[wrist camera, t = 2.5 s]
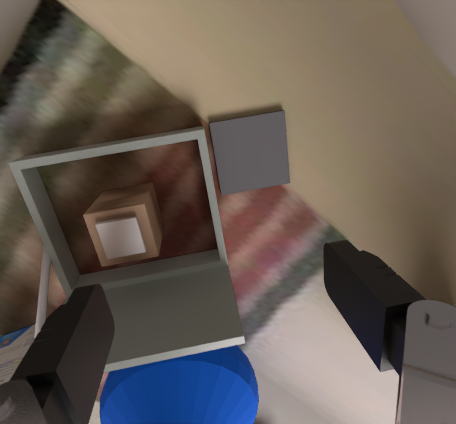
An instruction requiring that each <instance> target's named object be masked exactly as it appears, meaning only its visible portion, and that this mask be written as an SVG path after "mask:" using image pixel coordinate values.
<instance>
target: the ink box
mask: <svg viewBox="0 0 456 424" xmlns="http://www.w3.org/2000/svg"><path fill="white" fill-rule="evenodd" d="M35 326H36V324H34V325H32V326H29V327H26V328H23V329H20V330H17V331H15V332H12V333H9V334H6V335H3V336H1V338H0V385H1V384H3V383H5V382H8V381H9V380H10V379H11V377H12V375H13V374H14V372H15V370H16V369H17V367H18V365H19V364H20V362H21V361H22V359H23V357H24V356H25V354H26V352H27V351H28V349H29V347H30V346H31V344H32V343H34V336H35Z"/></svg>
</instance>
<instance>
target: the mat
mask: <svg viewBox="0 0 456 424" xmlns="http://www.w3.org/2000/svg"><path fill="white" fill-rule="evenodd" d="M209 125H210V131H211V137H212V143H213V149H214V154H215V160H216V166H217V172H218V178H219V184H220V190H221V195H227V194H232V193H238V192H243V191H249V190H254V189H259V188H265V187H270V186H276V185H281V184H287V183H290V176H289V162H288V149H287V136H286V123H285V111H284V110H282V111H276V112H270V113H264V114H258V115H253V116H247V117H241V118H235V119H229V120H223V121H217V122H211V123H209Z"/></svg>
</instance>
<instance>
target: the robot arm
mask: <svg viewBox="0 0 456 424" xmlns="http://www.w3.org/2000/svg"><path fill="white" fill-rule="evenodd" d="M324 284H325V288H326V291H327V293H328V295H329V297H330V298H331V300H332V301H333V303H334V304H335V306H336V307H337V309H338V310H339V312H340V313H341V315H342V316H343V318H344V319H345V321H346V322H347V324H348V325H349V327H350V328H351V329H352V331H353V332H354V334H355V335H356V337H357V338H358V340H359V341H360V343H361V344H362V346H363V347H364V349H365V350H366V352H367V353H368V355H369V356H370V358H371V359H372V360H373V362H374V363H375V365H376V366H377V368H378V369H379V371H380V372H382V371H386V370H391V369H395V370H396V372H397V373H398V375H399V382H398V394H397V405H396V417H395V424H456V307H454V306H452V305H449V304H447V303H444V302H440V301H434V300H426V299H425V298H424V297H423V296H421V295H420V294H419V293H418V292H417V291H416V290H415V289H414V288H412V287H411V286H410V285H409V284H408V283H407V282H406V281H405V280H403V279H402V278H401V277H400V276H399V275H396V272H394V271H393V270H392V269H391V268H390V267H388V265H387V264H385V263H384V262H383V261H382V260H381V259H380V258H379V257H377V256H375V255H373V254H371V253H369V252H366V251H364V250H363V251H358V250H357V249H356V248H355V247H354V246H353V245H352V244H351V243H350V242H349V241H348V240H341V241H335V242H330V243H325V245H324ZM40 330H41V331H40V332H39V333H38V334H37V336H36V337H35V339H34V343H32V344H31V346H30V347H29V349H28V351H27V352H26V354H25V356H24V357H23V359H22V361H21V362H20V364H19V365H18V367H17V369H16V370H15V372H14V374H13V375H12V377H11V379H10V380H9V381H8V382H5V383H3V384H1V385H0V424H88V423H89V420H90V416H91V413H92V410H93V406H94V403H95V399H96V396H97V393H98V389H99V386H100V382H101V379H102V376H103V372H104V369H105V365H106V362H107V359H108V355H109V352H110V348H111V345H112V342H113V338H114V333H115V325H114V319H113V316H112V313H111V310H110V307H109V304H108V302H107V299H106V296H105V293H104V290H103V288H102V286H101V285H100V284H92V285H87V286H81V287H76V288H75V289H74V290H73V292H72V294H71V296H70V297H69V299H68V301H67V303H66V304H64V305H60V306H59V307H58V308H57V309H56V310H55V311H54V312H53V313H52V314H51V315H50V316H48V318H47V319H46V321H45V323H44V324H43V326H42V328H41V329H40Z"/></svg>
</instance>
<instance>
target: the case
mask: <svg viewBox="0 0 456 424" xmlns="http://www.w3.org/2000/svg"><path fill="white" fill-rule="evenodd" d="M195 139H198V144H199V149H200V155H201V160H202V165H203V171H204V176H205V181H206V187H207V192H208V197H209V203H210V208H211V214H212V219H213V224H214V230H215V235H216V240H217V246H218V249H214V250H209V251H203V252H198V253H193V254H188V255H182V256H177V257H172V258H167V259H162V260H156V261H151V262H146V263H141V264H135V265H130V266H125V267H120V268H114V269H109V270H104V271H99V272H94V273H88V274H83V275H80V274H79V271H78V269H77V266H76V264H75V261H74V259H73V256H72V254H71V251H70V249H69V246H68V244H67V241H66V239H65V236H64V234H63V231H62V229H61V226H60V224H59V221H58V219H57V216H56V214H55V211H54V209H53V206H52V204H51V201H50V199H49V196H48V194H47V191H46V189H45V186H44V184H43V181H42V179H41V176H40V174H39V171H38V169H37V167H38V166H44V165H50V164H56V163H61V162H67V161H73V160H79V159H85V158H90V157H96V156H102V155H108V154H114V153H119V152H125V151H131V150H137V149H143V148H149V147H154V146H160V145H166V144H172V143H178V142H183V141H189V140H195ZM8 164H9V166H10V168H11V171H12V173H13V175H14V177H15V180H16V182H17V184H18V187H19V189H20V191H21V194H22V196H23V198H24V200H25V203H26V205H27V207H28V210H29V212H30V214H31V217H32V219H33V221H34V223H35V226H36V228H37V230H38V233H39V235H40V237H41V239H42V242H43V244H44V246H43V256H42V266H41V276H40V286H39V296H38V306H37V316H36V326H35V336H34V339H35V337H36V336H37V334H38V333H39V332H40V331H41V330H40V329H41V328H42V326H43V324H44V323H45V321H46V310H47V299H48V287H49V275H50V264H51V262H52V265H53V267H54V269H55V272H56V274H57V276H58V278H59V281H60V283H61V285H62V288H63V290H64V292H65V295H66V299H65V301H64V302H63V304H62V305H64V304H66V303H67V301H68V299H69V297H70V296H71V294H72V292H73V290H74V289H75V288H76V287H81V286H87V285H92V284H100V285H101V286H102V288H103V290H104V293H105V296H106V299H107V302H108V304H109V307H110V310H111V313H112V316H113V319H114V325H115V333H114V338H113V342H112V345H111V348H110V352H109V355H108V359H107V362H106V365H105V369H104V372H109V371H114V370H119V369H123V368H128V367H133V366H138V365H143V364H148V363H152V362H157V361H162V360H167V359H172V358H176V357H181V356H186V355H191V354H196V353H200V352H205V351H210V350H215V349H220V348H224V347H229V346H234V345H239V344H244V343H245V341H244V335H243V330H242V326H241V321H240V317H239V312H238V308H237V303H236V299H235V294H234V290H233V285H232V280H231V276H230V271H229V267H228V261H227V256H226V250H225V244H224V239H223V233H222V227H221V222H220V216H219V210H218V205H217V199H216V193H215V188H214V182H213V176H212V171H211V165H210V159H209V154H208V148H207V142H206V137H205V131H204V127H203V126H199V127H194V128H188V129H182V130H176V131H170V132H164V133H158V134H152V135H147V136H141V137H135V138H129V139H123V140H117V141H111V142H105V143H100V144H94V145H88V146H82V147H76V148H70V149H64V150H58V151H53V152H47V153H41V154H35V155H29V156H24V157H21V158H19V159H16V160H14V161H11V162H9V163H8ZM104 372H103V373H104Z"/></svg>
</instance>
